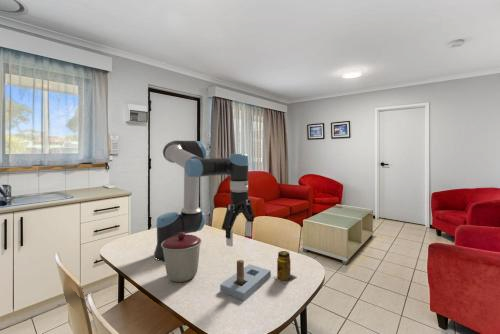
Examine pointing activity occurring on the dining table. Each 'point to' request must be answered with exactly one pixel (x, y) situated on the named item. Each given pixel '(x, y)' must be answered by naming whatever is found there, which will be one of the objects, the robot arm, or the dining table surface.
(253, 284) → the hole block
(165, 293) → the dining table surface
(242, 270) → the peg
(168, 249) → the canister
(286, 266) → the condiment
